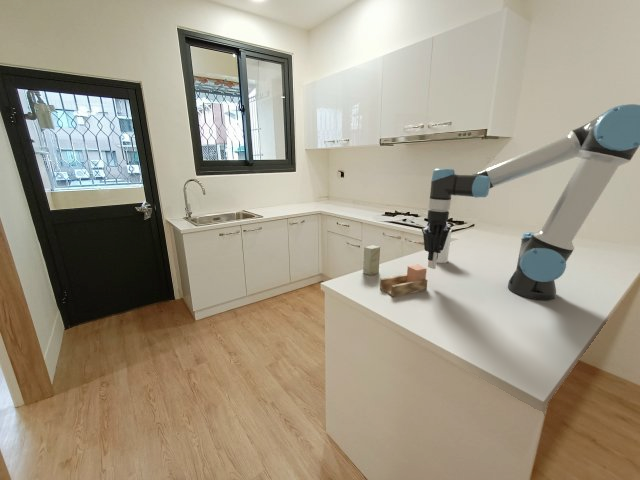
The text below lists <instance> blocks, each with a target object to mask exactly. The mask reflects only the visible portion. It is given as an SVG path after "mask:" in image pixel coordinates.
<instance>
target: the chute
mask: <svg viewBox="0 0 640 480" xmlns="http://www.w3.org/2000/svg"><path fill="white" fill-rule="evenodd" d="M379 282H380V284H379V289H380V290H381V291H383V292H385V293H386V294H388V295H389V296H390V297H392V298H394V297H399V296H400V297H401V296H404V295H409V294H413V293H418V292H422V291H427V288H428V279H423V280H418V281H412V282H407V273H406V274H399V275H394V276H389V277H388V276H387V277H383V278H380V281H379ZM406 282H407V283H406Z"/></svg>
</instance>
